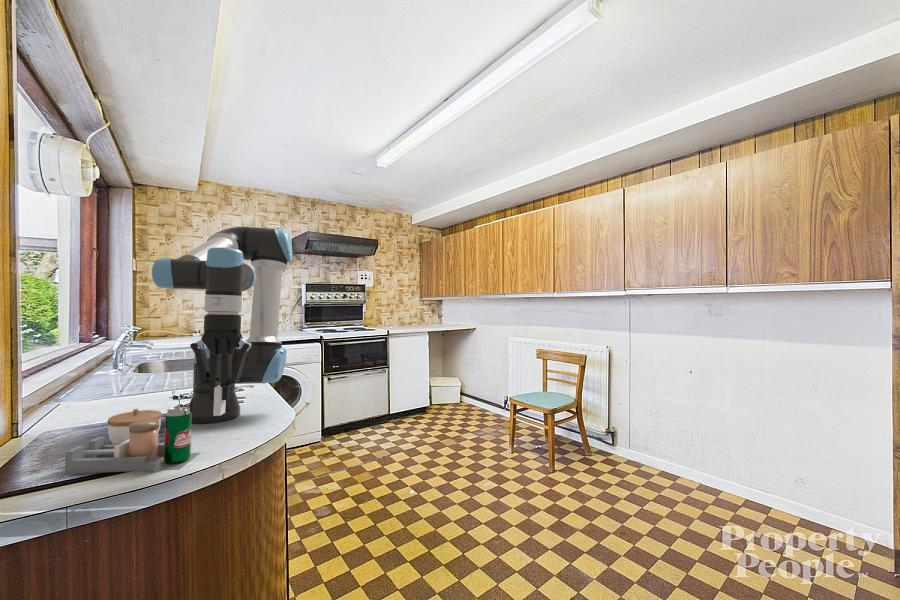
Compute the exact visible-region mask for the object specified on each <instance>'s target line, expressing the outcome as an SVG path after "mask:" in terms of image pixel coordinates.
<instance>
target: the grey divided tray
mask: <svg viewBox="0 0 900 600" xmlns="http://www.w3.org/2000/svg"><path fill="white" fill-rule="evenodd" d="M117 445H119V444H115V445H113V444H106V436H104V435H101V436H97V437H95V438H93V439H91V440H89V441H88V450H108V449H114V447H115V446H117ZM84 450H85V446H84V445H77V446H76V447H73V448H71V449H69V450H66V451H65V462H64V464H65V466H64V470H65V471H64V475H65V474H89V473H90V474H91V473H92V474H94V473H96V472H98V473H116V472H118V473H119V472H120V473H121V472H144V471H145V472H151V473H156V472H159V471H175V470H176V471H177V470H181V469H182V468H183V467H184V466H185V467H186V465H187V464H189V462H190V463H191V461H192V460H194V459H195V458H196V457H197V456H199V455H200V454H201V452H191V453H190V458H189V459H188V460H187V461H185V462H182V463H179V464H166V463H165V462H164V461H152V460H148V456H145V457H114V454H99V455H87V458H85V455H84ZM158 459H161V460H163V459H164V442H161V443H160V442H158V457H157V460H158Z"/></svg>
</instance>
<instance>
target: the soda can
mask: <svg viewBox="0 0 900 600" xmlns="http://www.w3.org/2000/svg"><path fill="white" fill-rule="evenodd" d="M164 415H165V417H164V439H163V440H164V442H163V443H164V462H165V463H166V464H179V463H182V462H185V461H187V460H188V459H189V458H190V453H192V451H191V449H192V448H191V447H192V425H193V423H192V411H191V410H190V407H188V406H175V407H171V408H169V409H167V412H166V414H164Z"/></svg>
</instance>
